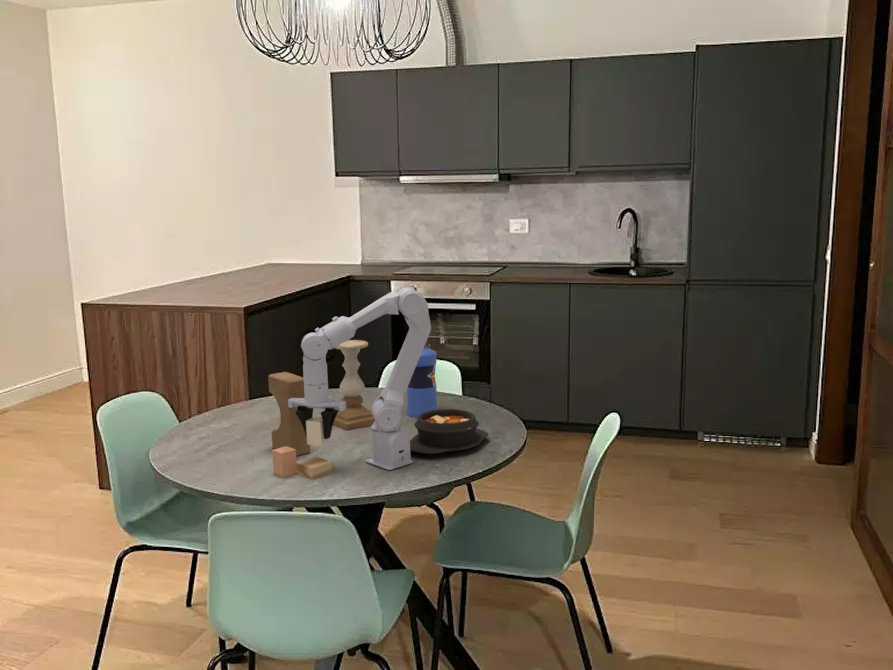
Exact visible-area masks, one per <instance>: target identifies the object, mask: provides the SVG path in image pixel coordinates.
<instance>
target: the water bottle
mask: <svg viewBox="0 0 893 670" xmlns="http://www.w3.org/2000/svg"><path fill="white" fill-rule="evenodd" d="M436 365H437V351H436V350H434V349H431V348H429V347H428V340H427V341H426V343H425V346H424V348H423V351H422V353H421V355H420V358H419V360H418V363H417V365H416V367H415V370H414V372H413V375H412V377H411V380H410V382H409V384H408V387H407V389H406V414H407V415H406V416H408V417H409V416H410V417H409V418H413V417H416V418H415V419H418V416H419V415H420V414H422V413H424V412H427V411H431V410H438V397H437V393H438V392H437V381H436V377H435V376H436Z"/></svg>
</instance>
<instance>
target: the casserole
mask: <svg viewBox="0 0 893 670" xmlns="http://www.w3.org/2000/svg"><path fill="white" fill-rule="evenodd" d="M416 419H417V420H416V421H415V422H414V424H413V425H414V427H415V428H416V430H417V434H416V435H414V436H413V437H412V438H411V439H410V452H413V453H419V454H425V455H436V454H441V453H443V454H447V453H448V454H449V453H457V452H462V451H465V450H469V449H472V448H474V447H476V446H478V445H480V444H481V443H482V441H483V440H484V439H486V438H487V437H488V436H489V433H488V432H487V431H486V430H483V429H480V428H478V427H479V424H480V423H479V421H478V420H477V418H476V415H475V414H474V413H473V412H471V411H468V410H464V409H456V408H455V409H454V408H440V409H438V408H437V410H431V411H427V412H424V413H422V414H420V415H419V416H418V418H416Z"/></svg>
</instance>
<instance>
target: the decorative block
mask: <svg viewBox="0 0 893 670" xmlns="http://www.w3.org/2000/svg"><path fill="white" fill-rule="evenodd" d="M267 377H268V378H267V379H268V392H269V393H270V394H272V395H273V397H274V399H275V400H276V403H277V405H278V408H279V413H280V415H279V416H280V422H279V426H278V428H277V429H273V430H272V431H271V443H272V444H271V445H272V446H271V447H272V448H273V449H278V448H281V447H285V446H288V447H290V448H293V449H296V457H298V456H302V455H306V454H309V453H310V452H311V445H308V444H307V438H306V434H305V431H304V428H303V426H302V423H301V421H300V420H299V418H298V416H297V415H296V412H295V411H296V410H297V409H298V407H292V408H290V407H288V400H289V399H291V398H305V395H304V376H303V377H302V376H300V375H296V374H294V373H290V372H287V371H283V372H276V373H271V374H269V375H268V376H267Z"/></svg>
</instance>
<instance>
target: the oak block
mask: <svg viewBox="0 0 893 670" xmlns="http://www.w3.org/2000/svg"><path fill="white" fill-rule="evenodd" d="M296 462H297V461H296ZM297 474H298V475H300V476H303V477H305V478H308V479H310V480H313V479H317V478H320V477H323V476H327V475H330V474H333V462H332V461H330V460H327V459H325V458H323V457H319V456H314V457H312V458H307V459H304V460H301V461H298V462H297Z"/></svg>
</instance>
